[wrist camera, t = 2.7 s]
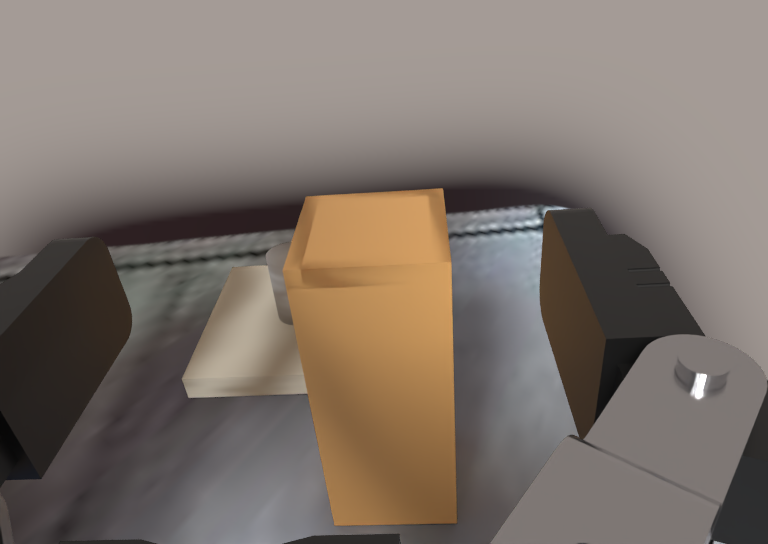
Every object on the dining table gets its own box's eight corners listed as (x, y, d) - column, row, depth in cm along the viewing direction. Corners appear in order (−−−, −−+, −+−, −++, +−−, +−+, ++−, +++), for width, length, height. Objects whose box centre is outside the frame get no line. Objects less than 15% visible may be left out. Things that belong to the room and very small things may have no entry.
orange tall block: (334, 525, 28) (282, 270, 20) (345, 432, 32) (306, 196, 25) (457, 523, 27) (451, 262, 20) (449, 429, 32) (442, 188, 24)
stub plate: (188, 397, 35) (159, 316, 32) (236, 283, 46) (218, 213, 42) (391, 390, 35) (382, 307, 31) (394, 276, 45) (388, 203, 41)
